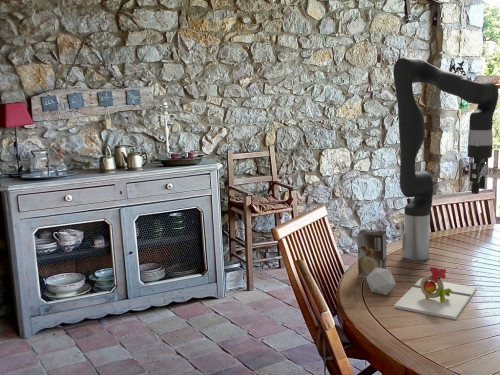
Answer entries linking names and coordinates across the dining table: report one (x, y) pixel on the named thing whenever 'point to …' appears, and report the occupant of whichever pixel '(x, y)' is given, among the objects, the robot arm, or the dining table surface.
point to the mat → (437, 300)
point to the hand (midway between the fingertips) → (478, 191)
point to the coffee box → (371, 251)
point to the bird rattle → (434, 285)
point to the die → (380, 281)
